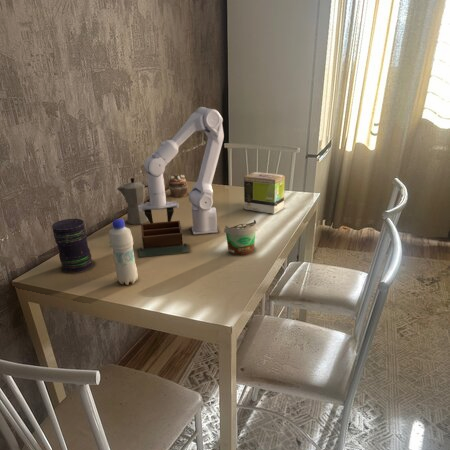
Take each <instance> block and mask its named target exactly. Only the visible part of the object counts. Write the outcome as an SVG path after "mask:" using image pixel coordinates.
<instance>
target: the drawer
mask: <svg viewBox="0 0 450 450" xmlns="http://www.w3.org/2000/svg"><path fill="white" fill-rule="evenodd" d="M140 227H141V228H140V229H141V240H142V241H141V242H142V248H143V249H148V248H158V247H168V246H179V245H184V241H183V232H182V225H181V220H171V221H170V222H168V221H159V222H153V223H150V222H146V223H144V224H140Z"/></svg>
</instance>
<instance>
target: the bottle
mask: <svg viewBox="0 0 450 450" xmlns="http://www.w3.org/2000/svg"><path fill="white" fill-rule="evenodd" d="M108 233H109V244H110V248H111V249H112V254H113V260H114V266H115V275H116V279H117V281H118V283H120V284H121V285H124V284H125V285H126V286H129V283H131V284H132V285H133V284H135V282H137V281H138V279H139V275H138V269H137V264H136V258H135V253H134V247H133V246H134V237H133V235H132V231H131V229H130V228H129V227H126V224H125V220H124V219H123V218H115V219H114V220H113V221H112V229H110V230H109V232H108Z"/></svg>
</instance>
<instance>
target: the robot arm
mask: <svg viewBox="0 0 450 450" xmlns="http://www.w3.org/2000/svg"><path fill="white" fill-rule="evenodd" d="M223 122H224V119H223V117H222V115H221V113H220V112H219V111H218V110H217V109H215V108H207V107H205V106H200V107H198V108H197V109H195V111H194V112H193V113H191V115H190V116H189V117H188V119H187V120H186V121H185V122H184V124H183V125H182V126H181V127H180V128H179V130H178V131H177V132H176V134H174V136H172V138H171V139H166V140H165V141H161V142H160V146H159V147H158V148H157V149H156V150H155V152H152V153H151V154H150V156H147V157H146V158H145V160H144V163H143V165H142V168H143V170H144V171H145V172H146V179H147V181H146V182H148V187H147V188H148V196H149V199H150V202H147V203H144V204H143V205H138V208H139V212H142V211H144V212H145V215H146V217H147V218H148V220H149V221H148V223H154V219H153V212H152V211H155V210H156V211H157V210H166V217H167V222H170V221H172V219H173V218H172V217H173V215H174V212H175V210H174V209H180V205H179V201H167V197H166V188H165V180H164V173H165V170H166V167H167V166H168V165H169V164H170V163H171V161H172V160H173V159H174V158H175V157H176V156H177V155H178V153H179V148H180V146H182V145H183V144H184V143H185V142H186V141H187V140H188V139H189V138H190V137H191V136H192V135H193V134H194V133H195V132H199V131H203V132H204V134H205V136H206V137H207V141H206V145H205V149H204V154H203V156H202V157H203V158H202V160H201V165H200V168H199V173H198V177H197V181H195V183H194V184H193V186H192V189H191V190H190V191H189V193H188V201H189V203H191V217H192V226H190V228H191V231H192V235H195V236H196V235H204V234H216V233H218V215H217V209H216V207H213V203H214V200H213V195H214V191H213V187H212V184H213V180H214V177H215V172H216V168H217V166H218V161H219V157H220V154H221V151H222V150H221V149H222V146H223V142H224V138H225V133H224V127H223Z"/></svg>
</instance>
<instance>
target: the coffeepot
mask: <svg viewBox="0 0 450 450" xmlns="http://www.w3.org/2000/svg"><path fill="white" fill-rule="evenodd" d="M146 188H148V182H147V181H146V182H145V181H144V182H137V181H136V182H135V178H134V177H130V182H128V183H125V184H122V185H121V186H119V187H117V188H116V189H117V191H119V192H120V193H121V194H122V196H123V197H124V200H125V203H126V204H127V216H126V218H127V223H128V224H129V225H141V224H147V223H149V220H148V218H147V217H146V215H145V212H144V211H142V212H139V208H138V205H143V204H145V197H146V196H145V195H146V191H145V189H146ZM146 202H147V203H150V198H149V199H147V200H146Z"/></svg>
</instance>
